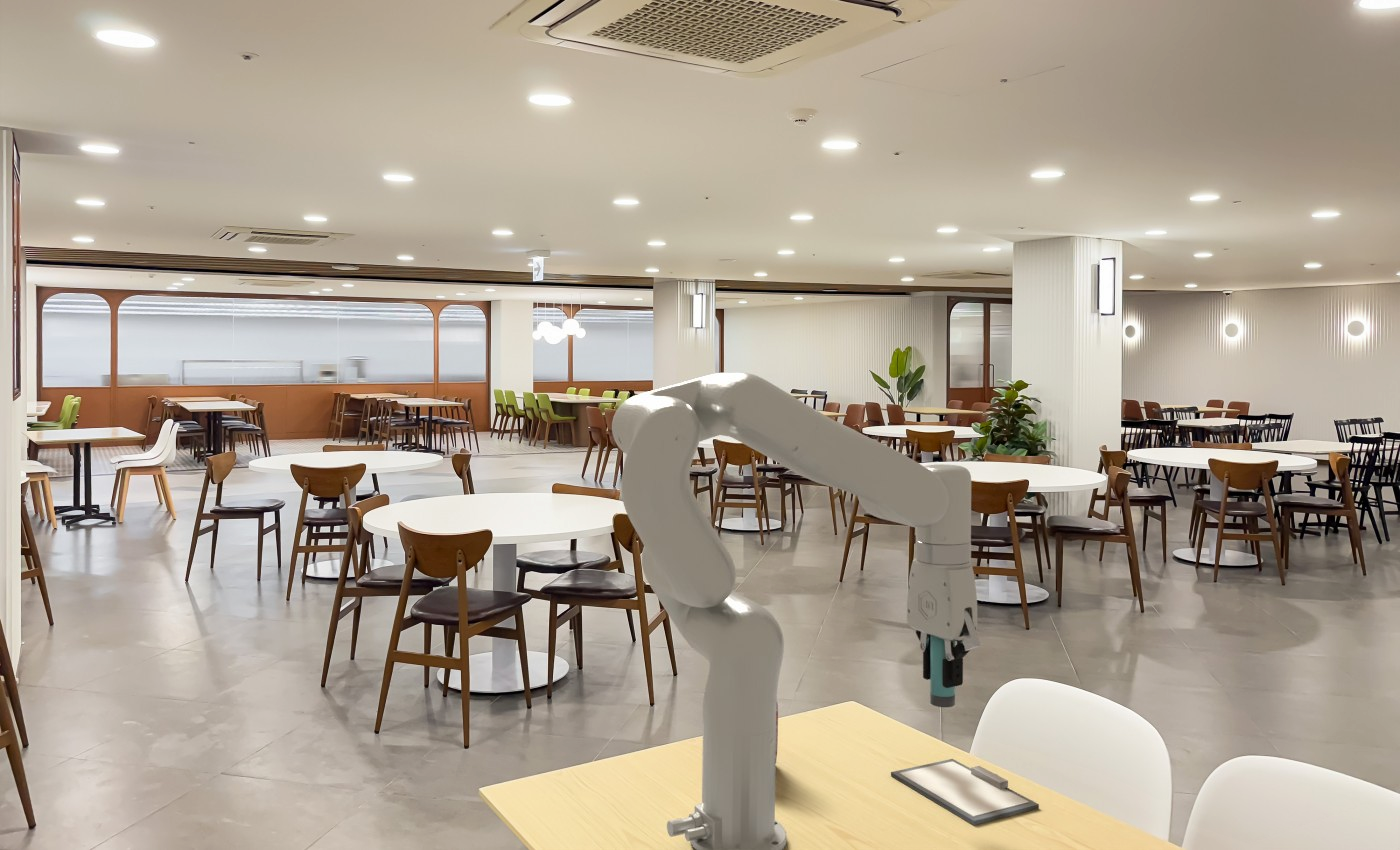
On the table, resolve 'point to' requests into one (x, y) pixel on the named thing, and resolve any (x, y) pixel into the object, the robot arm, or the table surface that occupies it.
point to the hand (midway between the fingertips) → (942, 680)
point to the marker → (939, 675)
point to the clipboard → (965, 790)
